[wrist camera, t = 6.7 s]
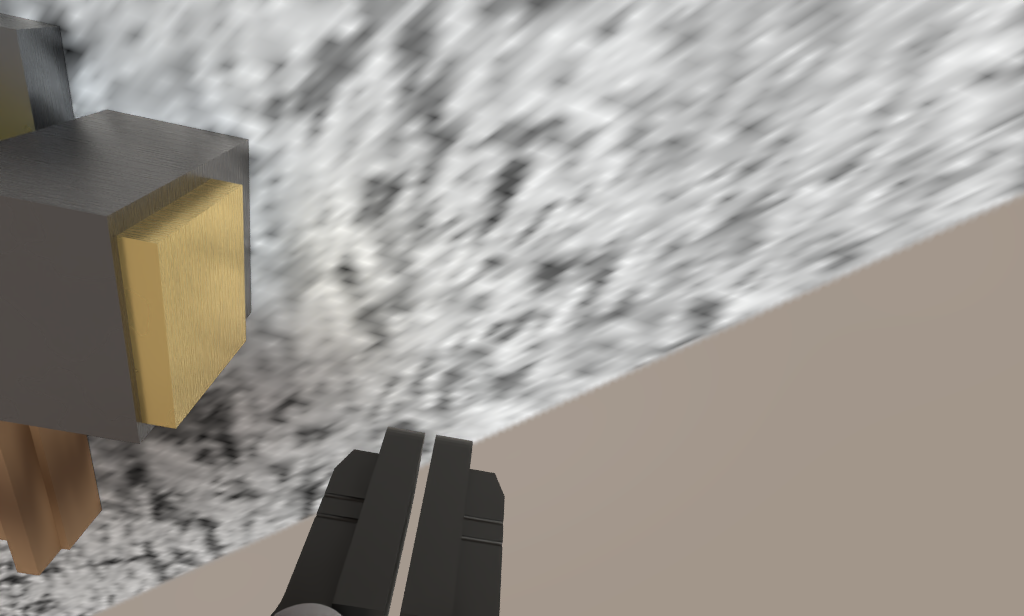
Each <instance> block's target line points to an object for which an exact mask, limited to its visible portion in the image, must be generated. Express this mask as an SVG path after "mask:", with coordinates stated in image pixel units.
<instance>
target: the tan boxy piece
mask: <svg viewBox="0 0 1024 616" xmlns="http://www.w3.org/2000/svg"><path fill="white" fill-rule="evenodd" d="M117 243H118V251H119V258H120V265H121V272H122V279H123V287H124V294H125V301H126V308H127V316H128V323H129V330H130V337H131V344H132V352H133V359H134V366H135V373H136V381H137V388H138V395H139V402H140V409H141V417H142V423H146V424H152V425H158V426H164V427H169V428H175V429H176V428H177V427H178V425H179V424H180V423H181V422H182V420H183V419H184V418H185V417H186V415H187V414H188V413H189V412H190V410H191V409H192V408H193V407H194V405H195V404H196V403H197V402H198V400H199V399H200V398H201V397H202V395H203V394H204V393H205V392H206V390H207V389H208V388H209V387H210V385H211V384H212V383H213V382H214V380H215V379H216V378H217V377H218V375H219V374H220V373H221V372H222V370H223V369H224V368H225V366H226V365H227V364H228V363H229V361H230V360H231V359H232V358H233V356H234V355H235V354H236V353H237V351H238V350H239V349H240V348H241V346H242V345H243V344H244V343H245V341H246V324H245V277H244V230H243V185H241V184H236V183H231V182H226V181H221V180H216V179H210V180H208V181H207V182H205V183H203V184H202V185H200V186H198V187H197V188H195V189H193V190H192V191H190V192H188V193H187V194H185V195H183V196H182V197H180V198H179V199H177V200H175V201H174V202H172V203H170V204H169V205H167V206H165V207H164V208H162V209H160V210H159V211H157V212H155V213H154V214H152V215H150V216H149V217H147V218H145V219H144V220H142V221H140V222H139V223H137V224H135V225H134V226H132V227H130V228H129V229H127V230H125V231H124V232H122V233H120V234H119V235H117Z"/></svg>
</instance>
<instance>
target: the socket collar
mask: <svg viewBox="0 0 1024 616" xmlns="http://www.w3.org/2000/svg"><path fill="white" fill-rule="evenodd" d="M70 120H74V116H73V109H72V103H71V97H70V91H69V84H68V78H67V72H66V66H65V60H64V53H63V47H62V41H61V35H60V28H59V26H56V25H51V24H47V23H42V22H38V21H33V20H29V19H24V18H20V17H15V16H11V15H6V14H2V13H0V141H1V140H4V139H8V138H11V137H15V136H18V135H22V134H25V133H29V132H32V131H36V130H39V129H43V128H46V127H50V126H53V125H56V124H60V123H63V122H67V121H70Z"/></svg>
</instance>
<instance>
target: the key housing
mask: <svg viewBox="0 0 1024 616" xmlns="http://www.w3.org/2000/svg"><path fill="white" fill-rule="evenodd" d="M210 179H216V180H221V181H226V182H231V183H236V184H241V185H243V230H244V277H245V319H246V318H247V317H248V316H249V315H250V313H251V273H250V208H249V144H248V139H243V138H239V137H234V136H229V135H224V134H220V133H215V132H210V131H205V130H201V129H196V128H191V127H186V126H182V125H177V124H172V123H168V122H163V121H158V120H153V119H149V118H144V117H139V116H134V115H130V114H125V113H120V112H115V111H111V110H105V111H102V112H98V113H95V114H91V115H88V116H84V117H81V118H77V119H74V120H70V121H67V122H63V123H60V124H56V125H53V126H50V127H46V128H43V129H39V130H36V131H32V132H29V133H25V134H22V135H18V136H15V137H11V138H8V139H4V140H1V141H0V421H6V422H12V423H18V424H24V425H30V426H36V427H42V428H48V429H54V430H60V431H66V432H72V433H78V434H84V435H90V436H96V437H102V438H108V439H114V440H120V441H126V442H132V443H138V444H140V443H141V442H142V440H143V439H144V438H145V437H146V436H147V435H148V433H149V432H150V431H151V430H152V429H153V428H154V426H155V425H152V424H146V423H142V417H141V409H140V402H139V395H138V388H137V381H136V373H135V366H134V359H133V352H132V344H131V337H130V330H129V323H128V316H127V308H126V301H125V294H124V287H123V279H122V272H121V265H120V258H119V251H118V243H117V235H119V234H120V233H122V232H124V231H125V230H127V229H129V228H130V227H132V226H134V225H135V224H137V223H139V222H140V221H142V220H144V219H145V218H147V217H149V216H150V215H152V214H154V213H155V212H157V211H159V210H160V209H162V208H164V207H165V206H167V205H169V204H170V203H172V202H174V201H175V200H177V199H179V198H180V197H182V196H183V195H185V194H187V193H188V192H190V191H192V190H193V189H195V188H197V187H198V186H200V185H202V184H203V183H205V182H207V181H208V180H210Z"/></svg>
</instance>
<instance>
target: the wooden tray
mask: <svg viewBox="0 0 1024 616" xmlns="http://www.w3.org/2000/svg"><path fill="white" fill-rule="evenodd" d="M101 510H102V509H101V504H100V499H99V494H98V489H97V484H96V479H95V474H94V470H93V465H92V460H91V455H90V450H89V445H88V440H87V435H84V434H78V433H72V432H66V431H60V430H54V429H48V428H42V427H36V426H30V425H24V424H18V423H12V422H6V421H0V539H1V540H7V542H8V545H9V548H10V551H11V554H12V557H13V560H14V563H15V566H16V569H17V572H19V573H26V574H33V575H40V574H41V573H42V572H43V570H44V569H45V568H46V567H47V566H48V564H49V563H50V562H51V561H52V560H53V558H54V557H55V556H56V555H57V554H58V552H59V551H60V550H61V549H68V550H70V548H71V547H72V546H73V545H74V544H75V542H76V541H77V540H78V539H79V537H80V536H81V535H82V534H83V532H84V531H85V530H86V529H87V528H88V526H89V525H90V524H91V523H92V521H93V520H94V519H95V518H96V517H97V515H98V514H99V513H100V512H101Z"/></svg>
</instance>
